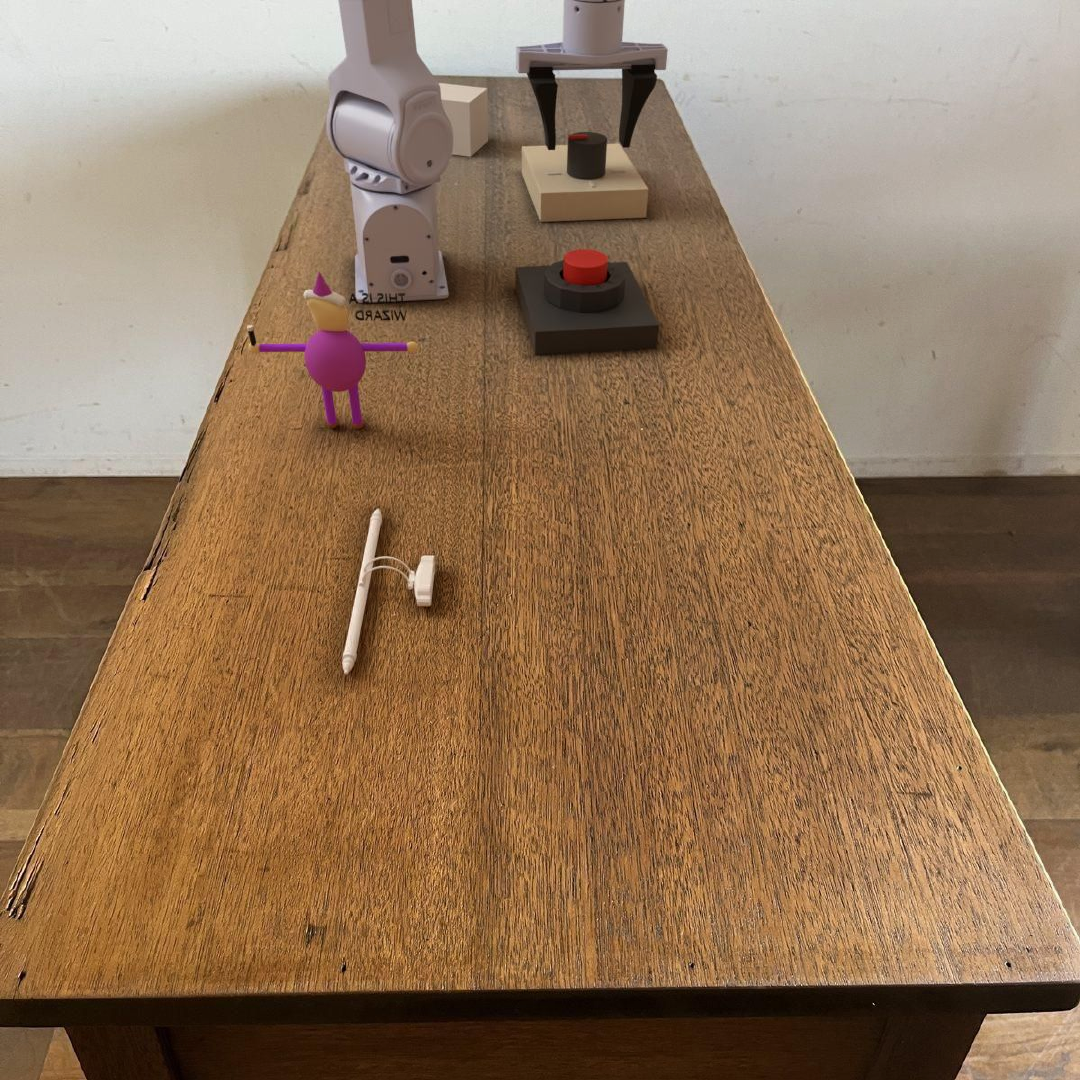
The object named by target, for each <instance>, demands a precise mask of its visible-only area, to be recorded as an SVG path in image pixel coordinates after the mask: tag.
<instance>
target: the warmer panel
mask: <svg viewBox="0 0 1080 1080" xmlns="http://www.w3.org/2000/svg"><path fill="white" fill-rule="evenodd" d="M567 150H568V144H556V146H555V150H548V148H547V146H546V145H524V146H523V145H522V146H521V175H522V178H523V180H524V183H525V186H526V189H527V191H528V193H529V196H530V199H531V202H532V204H533V207H534V209H535V213H536V214H537V217H538V219H539V222H540V223H549V222H573V221H598V220H599V221H600V220H621V219H623V220H624V219H625V220H626V219H646V218H647V210H648V200H649V199H648V198H649V187H648V186H647V185H646V183H645V181H644V179H643V178H642V177H641V175H640V173H639V172H638V170H637V169H636V167H635V166H634V164H633V162H632V161H631V159H630V158H629V156H628V155H627V153H626V152H625V150H624V148H623V147H622V145H621V144H620V142H619V143H618V142H617V143H616V142H615V143H607V152H606V168H605V175H604V176H602V177H600V178H597V179H578V178H574V177H571V176H570V175H568V174H567Z"/></svg>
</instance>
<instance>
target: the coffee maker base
mask: <svg viewBox="0 0 1080 1080" xmlns="http://www.w3.org/2000/svg"><path fill="white" fill-rule="evenodd" d="M563 266H564V259H562V260H559V261H556V262H552V263H551V264H550V265H529V266H527V265H526V266H515V270H514V271H515V275H514V277H515V284H514V285H515V286H514V287H515V293H516V296H517V299H518V300H517V301H518V303H519V306H520V310H521V314H522V317H523V320H524V324H525V328H526V330H527V333H528V338H529V340H530V344H531V347H532V351H533V353H534V356H546V355H547V356H548V355H549V356H550V355H565V354H581V353H598V352H600V353H601V352H615V351H633V350H650V349H653V350H654V349H657V348H658V340H659V331H660V324H659V321H658V320H657V318H656V316H655V314H654V312H653V310H652V308H651V307H650V305H649V302H648V301H647V298H646V296H645V295H644V293H643V291H642V288H641V287H640V285H639V282H638V281H637V279H636V278H635V275H634V273H633V272H632V269H631V268H630V266H629V264H628V262H627V261H617V262H615V261H614V262H610V261H608V265H607V279H606V281H605V282H604V283H601V284H598V285H587V286H582V285H577V284H572V283H569V282H567V281H565V280H564V278H563Z"/></svg>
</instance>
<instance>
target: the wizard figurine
mask: <svg viewBox="0 0 1080 1080" xmlns="http://www.w3.org/2000/svg"><path fill="white" fill-rule="evenodd" d="M302 295H303V298H304V300H305V301H306V306H307V308H308V309H309V311H310V313H311V316H312V319H313V321H314V324H315V326H316V327H317V329H319V330H317V331H316V332H315V333H313V334H312V335H311V336H310V338H309V340H308V341H307V343H260V342H258V341H257V338H256V335H255V330H254V326H253V324H247V326H246V329H247V333H248V337H249V342H250V343H249V344H248V350H249V352H250V353H252V354H260V353H304V363H305V368H306V370H307V373H308V374H309V376H310V378H311V379H312V380H313V381H314V382H315V384H317V385H318V386H319V387H321V390H322V397H323V404H324V410H325V418H326V422H325V423H326V426H327V427H328V428H330V429H335V428H337V427H338V426H339V424H340V419H339V418H338V417H337V416H336V408H335V401H334V395H333V392H334V393H335V392H336V393H340V392H341V393H342V392H346V391H348V396H349V404H350V412H351V419H352V421H351V426H352V428H353V429H354V430H362V428H364V426H365V421H364V419H363V417H362V409H361V401H360V394H359V385H358V384H359V383H360V382H361V380H362V379H363V377H364V375H365V371H366V368H367V357H366V352H407V353H408V354H411V355H412V354H416V353H417V352H418V350H419V345H418V344H417V343H416V342H415V341H408V342H381V343H379V342H378V343H377V342H375V343H374V342H373V343H371V342H370V343H369V342H367V343H366V342H365V343H364V342H361V341H360V340H359V338H357V337H356V335H354V333H352V332H350V331H349V330H348V328H349V323H350V319H349V318H350V315H349V311H348V308H347V306H346V302H347V301H346V297H344V296H343V295H341V294H339V293H338V292H335V291H332V290H331V288H330V286H329V285H328V283H327V281H326V280H325V278H324V277H323V275H322V273H321V271H318V274H317V276H316V280H315V283H314V285H313V288H312V289H306V290H305V291H303V294H302ZM362 296H366V297H364V298H363V300H362V302H363V303H362V304H364V305H368V304H371V305H373V303H372V295H371V293H370V301H371V303H369V301H364V300H366V299H367V298H368V294H367V293H362ZM377 296H382V297H380V298H378V302H377V303H378V304H380V305H382V304H386V305H387V304H388V302H387V293H385V298H386V302H384V301H379V300H381V299H383V296H384V295H383V294H382V293H378V294H377ZM395 296H396V297H391V294H390V293H389V300H390V302H389V304H392V302H391V300H396V301H395V304H396V305H397V304H398V302H399V301H397V293H396V294H395ZM398 296H401V301H400V302H401V305H403V304H404V301H403V296H405V293H398ZM352 302H355V304H357V305H358V304H359V303H358V301H357V299H356V294H355V293H354V292H352V293H351V295H350V298H349V302H348V304H349V305H350V304H351V303H352ZM381 312H382V314H383V315H384V317H382V315H381V313H380V311H379V310H378V309H376V311H375V315H374V317H373V311H372V309H367V310H365V315H364V309H359V310H356V311H355V319H356V320H357V321H367V320H368V318H370V321H374V322H375V321H376V319H379V320H380V321H381V322H382V321H383V322H384V321H392V322H393V321H394V316H395V318H396V321H398V322H399V321H400V317H401V320H402V321H403V322H404V321H405V320H406V315H407V313H408V312H407V309H405V311H404V315H403V312H402V310H401V309H399V311H398V313H397V311H396V310H395V309H394V310H393V309H382V310H381ZM360 313H361V317H359V316H358V314H360ZM388 314H390V316H389V315H388ZM365 316H366V317H365Z"/></svg>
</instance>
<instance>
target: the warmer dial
mask: <svg viewBox="0 0 1080 1080" xmlns="http://www.w3.org/2000/svg"><path fill="white" fill-rule="evenodd" d="M607 144H608V138H607V136H606V135H604V134H602V133H598V132H593V131H579V132H574V133H570V134H568V135H567V145H568V150H567V174H568V175H570V176H571V177H574V178H578V179H597V178H600V177H602V176H604V175H605V168H606V152H607Z"/></svg>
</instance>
